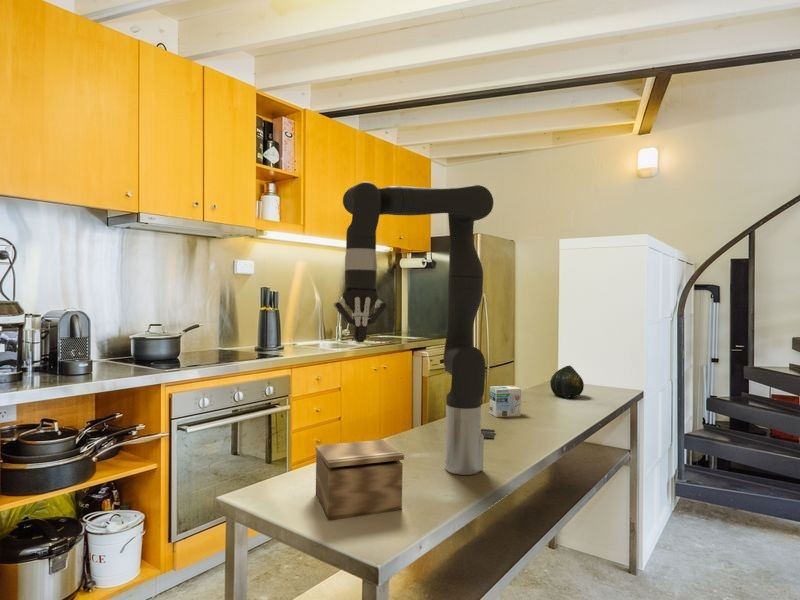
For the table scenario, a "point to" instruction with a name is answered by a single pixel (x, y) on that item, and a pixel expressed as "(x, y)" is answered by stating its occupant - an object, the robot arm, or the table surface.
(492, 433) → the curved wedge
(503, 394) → the light bulb box
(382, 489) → the brown wooden box
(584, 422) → the table surface
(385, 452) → the lid
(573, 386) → the squash
